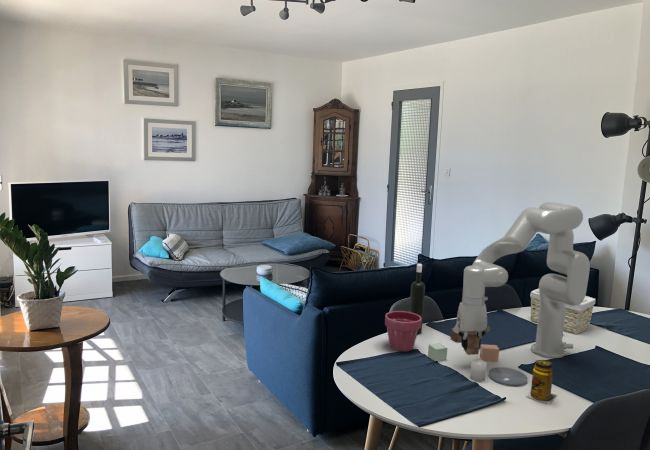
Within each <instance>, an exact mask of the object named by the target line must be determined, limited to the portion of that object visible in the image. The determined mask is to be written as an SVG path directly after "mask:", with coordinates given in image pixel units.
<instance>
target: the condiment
mask: <svg viewBox="0 0 650 450" xmlns="http://www.w3.org/2000/svg"><path fill="white" fill-rule="evenodd" d="M553 377H554V372H553V363H552V362H551V361H548V360H545V359H537V360H535V362H534V368H533V370H532V378H531V385H530V386H531V387H530V392H529V393H528V394H527V395H526V396H525V397H526V398H529V399H532V400H535V401H538V402H540V403H544V404H547V405H549V404H551V403H552V402H553V401H554V399H555V398H556V397H557V395H558V394H556V393H552V388H553V387H552V385H553Z"/></svg>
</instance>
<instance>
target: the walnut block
mask: <svg viewBox="0 0 650 450" xmlns="http://www.w3.org/2000/svg"><path fill="white" fill-rule="evenodd" d="M479 340H480V339H479V338H478V337H477V336H476V333H474V334H469V335H467V350H465V349H464V348H463V351H464V352H465V353H466V355H468V356H470V355H471V356H472V355H479V352H480V346H479Z"/></svg>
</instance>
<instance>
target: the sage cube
mask: <svg viewBox="0 0 650 450" xmlns="http://www.w3.org/2000/svg"><path fill="white" fill-rule="evenodd" d="M427 348H428V349H427V350H428V351H427V357H428V358H429V359H431V360H432V361H433V360H434V361H433V362H435V361H438V362H444V361H445V362H446V361H447V360H448V359H447V358H448V347H447V346H445V345H444V344H443V343H441V342H437V343H428V347H427Z"/></svg>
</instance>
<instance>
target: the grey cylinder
mask: <svg viewBox="0 0 650 450" xmlns="http://www.w3.org/2000/svg"><path fill="white" fill-rule="evenodd" d="M470 362H471V364H470V375H469V376H470V380H471V381H475V382H480V383H481V382H485V381H486V372H487V361H483V360H481V358H480V359H478V358H475V359H472V360H471V361H470Z"/></svg>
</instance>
